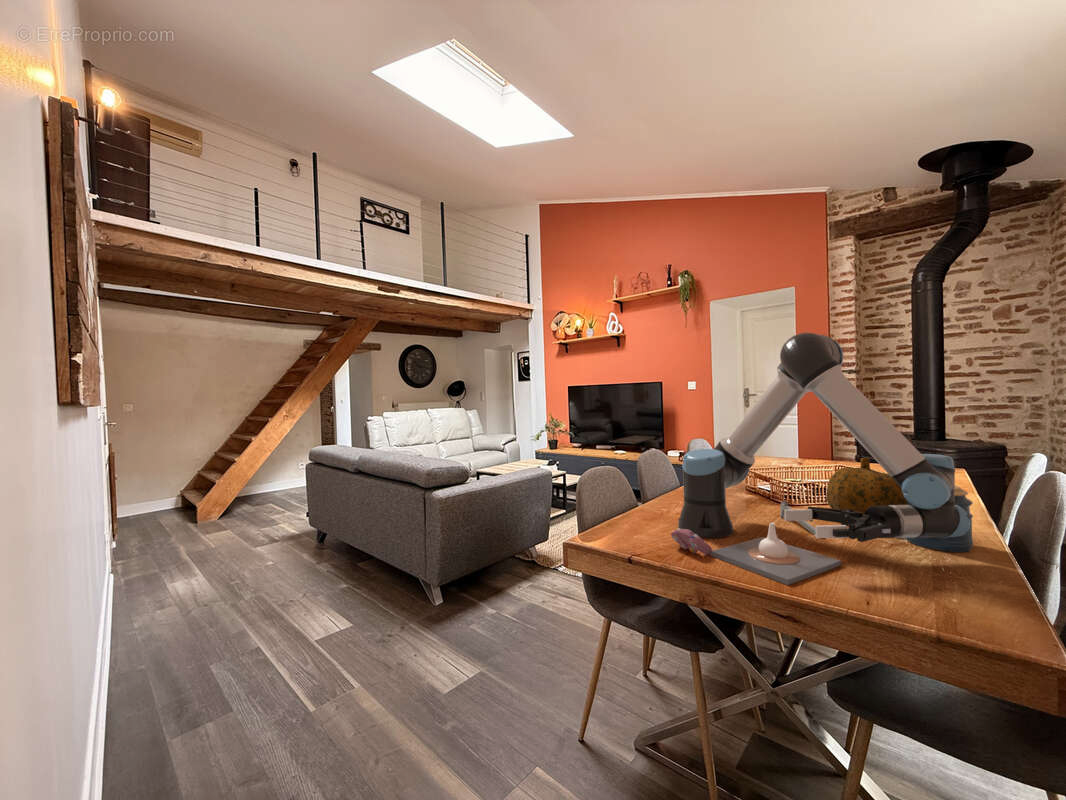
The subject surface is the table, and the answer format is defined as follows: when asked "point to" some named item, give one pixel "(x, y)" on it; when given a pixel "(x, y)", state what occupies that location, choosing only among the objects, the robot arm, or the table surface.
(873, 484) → the decorative pumpkin
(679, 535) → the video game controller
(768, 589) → the table surface
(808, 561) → the slate board
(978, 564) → the table surface
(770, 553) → the garlic bulb
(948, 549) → the canister
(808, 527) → the caliper
